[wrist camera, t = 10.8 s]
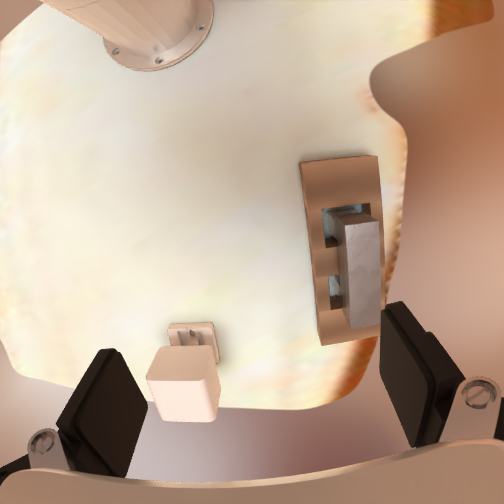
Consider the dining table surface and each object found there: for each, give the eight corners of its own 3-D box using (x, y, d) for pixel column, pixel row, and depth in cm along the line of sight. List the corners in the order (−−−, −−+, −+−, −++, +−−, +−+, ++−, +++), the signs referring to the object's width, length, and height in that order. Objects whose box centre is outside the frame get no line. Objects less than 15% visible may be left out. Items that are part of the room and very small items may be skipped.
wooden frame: (298, 162, 32) (302, 164, 29) (367, 155, 31) (377, 156, 29) (317, 332, 38) (321, 345, 35) (376, 321, 37) (383, 334, 34)
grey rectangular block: (326, 208, 33) (344, 225, 26) (353, 204, 33) (378, 221, 25) (334, 293, 36) (350, 329, 29) (359, 289, 36) (380, 324, 28)
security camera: (178, 368, 40) (159, 420, 31) (166, 324, 38) (141, 373, 29) (224, 367, 40) (215, 422, 31) (216, 321, 38) (202, 374, 28)
